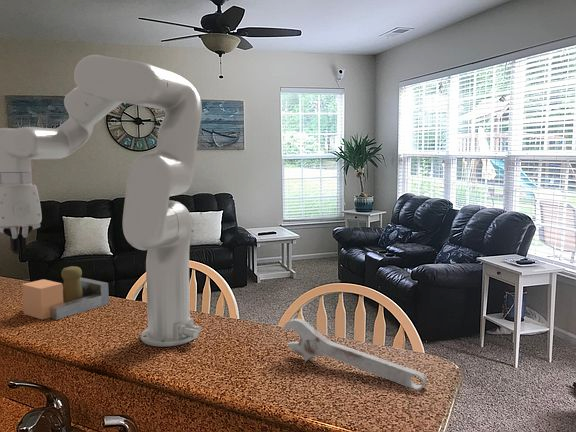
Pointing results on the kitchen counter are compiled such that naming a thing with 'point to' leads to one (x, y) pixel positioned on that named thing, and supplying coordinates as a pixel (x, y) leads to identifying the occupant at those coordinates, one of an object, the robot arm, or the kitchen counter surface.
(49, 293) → the block
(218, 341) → the kitchen counter surface
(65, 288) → the cork
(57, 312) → the u-shaped metal bracket
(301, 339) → the wrench
